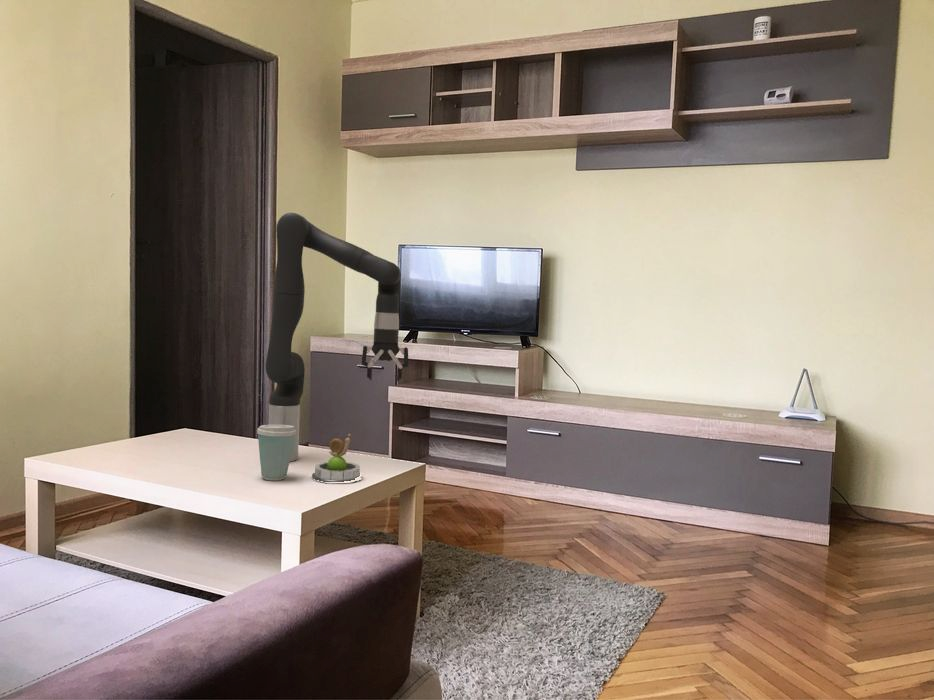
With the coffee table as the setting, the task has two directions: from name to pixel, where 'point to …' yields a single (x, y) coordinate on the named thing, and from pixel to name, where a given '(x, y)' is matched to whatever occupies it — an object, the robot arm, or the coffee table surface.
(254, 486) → the coffee table surface
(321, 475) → the collar base
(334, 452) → the snail figurine
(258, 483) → the coffee table surface
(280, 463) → the disposable coffee cup
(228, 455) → the coffee table surface
